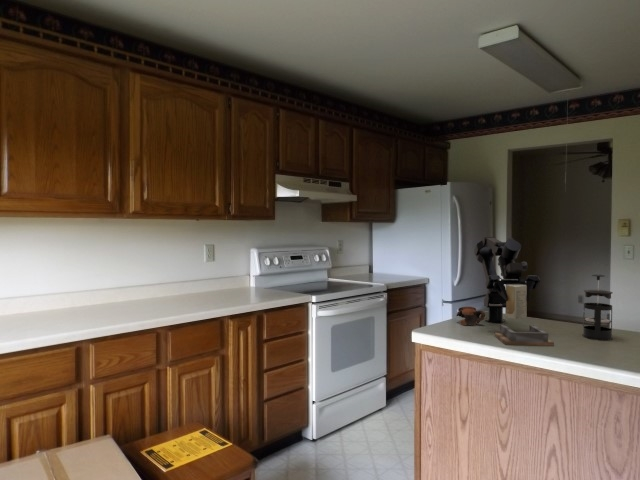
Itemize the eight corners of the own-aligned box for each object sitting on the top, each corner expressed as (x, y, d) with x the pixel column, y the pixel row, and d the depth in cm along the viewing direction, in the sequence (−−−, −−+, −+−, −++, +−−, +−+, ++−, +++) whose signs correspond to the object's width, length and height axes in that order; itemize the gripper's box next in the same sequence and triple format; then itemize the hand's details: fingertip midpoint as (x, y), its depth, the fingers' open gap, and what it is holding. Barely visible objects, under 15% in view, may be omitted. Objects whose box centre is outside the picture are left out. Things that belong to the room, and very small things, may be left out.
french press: (613, 342, 160) (614, 276, 160) (582, 338, 165) (583, 275, 164) (611, 335, 170) (612, 273, 170) (582, 332, 175) (583, 272, 174)
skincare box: (517, 315, 174) (518, 283, 174) (527, 317, 170) (527, 285, 170) (505, 317, 171) (505, 284, 171) (514, 319, 168) (514, 286, 167)
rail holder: (494, 335, 169) (494, 324, 169) (539, 336, 168) (539, 325, 168) (505, 344, 156) (505, 332, 156) (554, 345, 155) (554, 333, 155)
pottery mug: (453, 326, 188) (452, 307, 192) (462, 332, 195) (461, 314, 199) (482, 322, 182) (480, 302, 186) (491, 328, 188) (489, 309, 192)
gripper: (488, 254, 174) (497, 287, 164) (538, 254, 173) (550, 287, 163) (482, 272, 183) (489, 304, 172) (530, 272, 181) (541, 305, 171)
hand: (517, 300), depth 169 cm, fingers closed on skincare box, 7 cm apart
